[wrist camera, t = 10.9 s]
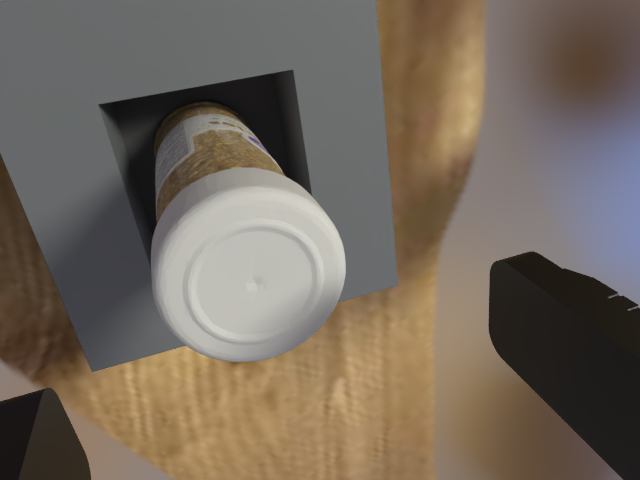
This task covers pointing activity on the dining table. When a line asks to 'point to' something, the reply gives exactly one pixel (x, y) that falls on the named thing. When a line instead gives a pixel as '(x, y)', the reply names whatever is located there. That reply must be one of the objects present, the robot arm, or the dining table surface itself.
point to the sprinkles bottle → (237, 241)
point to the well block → (147, 116)
